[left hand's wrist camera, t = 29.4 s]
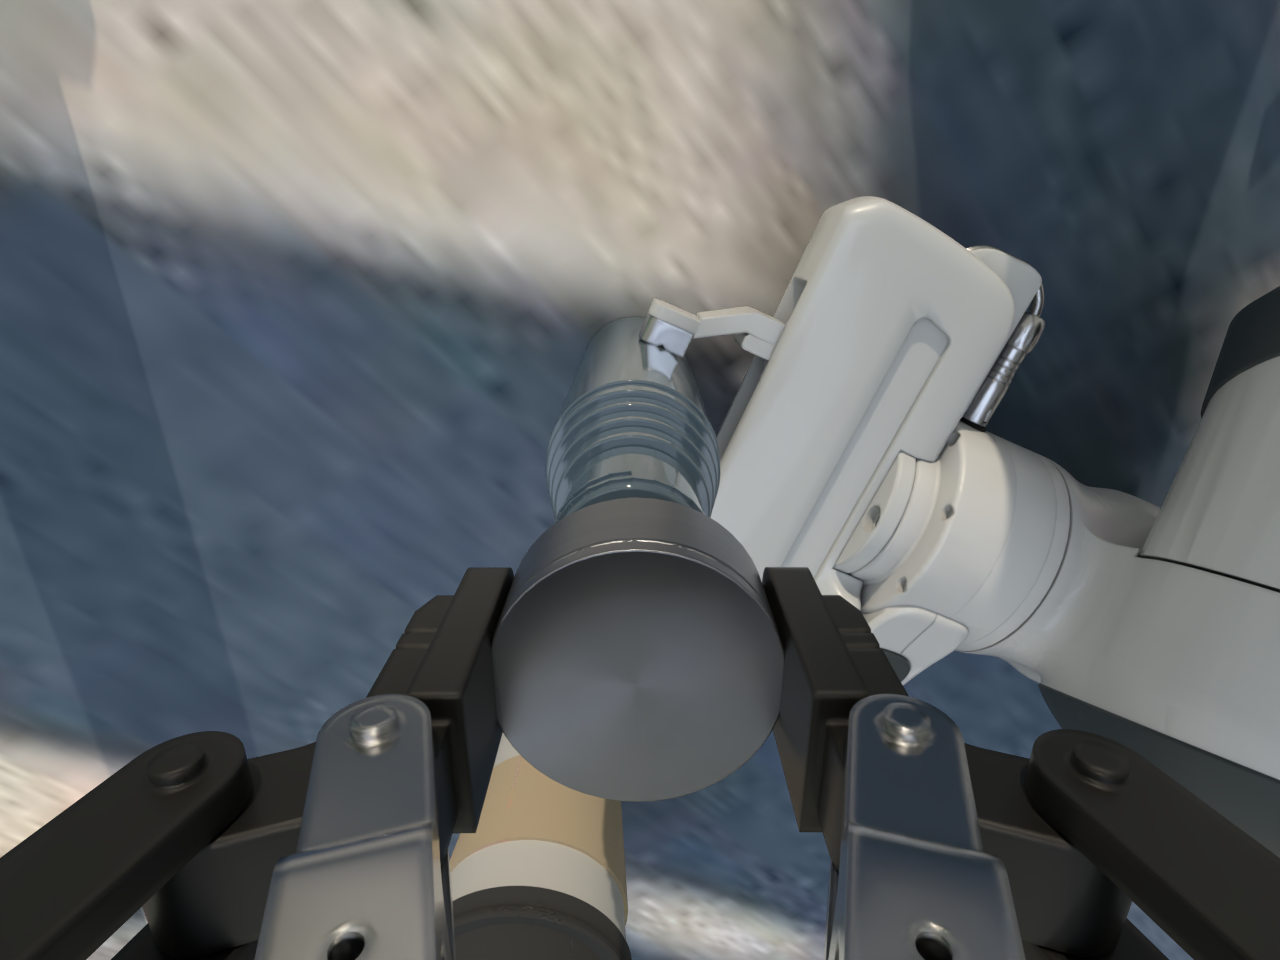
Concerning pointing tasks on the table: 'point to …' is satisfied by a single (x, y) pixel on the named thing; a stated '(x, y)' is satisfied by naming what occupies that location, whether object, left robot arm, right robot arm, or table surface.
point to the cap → (637, 652)
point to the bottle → (632, 428)
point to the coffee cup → (540, 871)
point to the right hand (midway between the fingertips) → (612, 396)
